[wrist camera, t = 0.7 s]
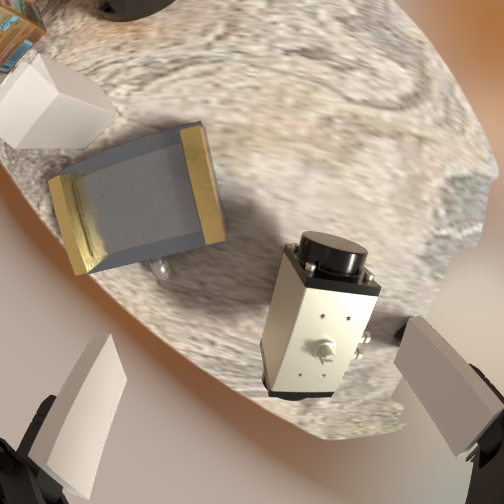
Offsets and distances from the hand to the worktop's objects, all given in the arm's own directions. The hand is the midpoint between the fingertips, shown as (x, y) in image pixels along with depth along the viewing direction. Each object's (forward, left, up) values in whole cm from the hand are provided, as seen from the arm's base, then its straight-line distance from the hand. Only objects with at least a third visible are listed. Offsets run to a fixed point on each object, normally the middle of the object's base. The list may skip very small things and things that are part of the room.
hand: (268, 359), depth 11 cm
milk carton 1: (-45, -33, -27) cm, 62 cm away
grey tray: (-4, -12, -26) cm, 29 cm away
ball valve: (+10, +5, -27) cm, 29 cm away
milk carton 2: (-20, -18, -27) cm, 38 cm away
